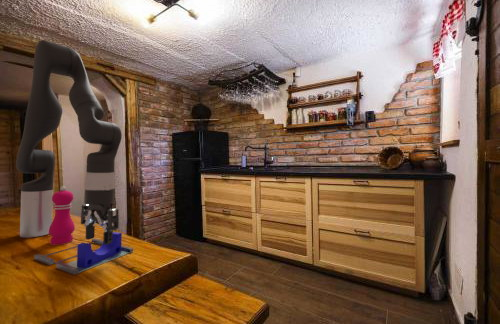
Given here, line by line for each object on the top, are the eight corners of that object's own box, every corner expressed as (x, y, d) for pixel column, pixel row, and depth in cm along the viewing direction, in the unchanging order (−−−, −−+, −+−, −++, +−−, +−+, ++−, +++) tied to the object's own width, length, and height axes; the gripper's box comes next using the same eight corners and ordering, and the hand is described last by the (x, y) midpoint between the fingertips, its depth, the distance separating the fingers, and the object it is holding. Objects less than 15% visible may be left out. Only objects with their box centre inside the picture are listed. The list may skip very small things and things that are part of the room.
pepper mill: (43, 243, 80) (45, 186, 80) (66, 237, 86) (68, 184, 86) (56, 246, 77) (57, 187, 77) (79, 240, 84) (80, 186, 84)
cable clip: (110, 249, 74) (110, 231, 75) (121, 251, 73) (121, 232, 73) (72, 265, 63) (73, 243, 63) (85, 267, 62) (85, 245, 62)
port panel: (34, 259, 67) (34, 254, 67) (94, 241, 83) (94, 238, 83) (74, 274, 58) (74, 270, 58) (132, 252, 74) (133, 248, 74)
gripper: (72, 186, 68) (70, 240, 68) (102, 190, 62) (100, 250, 62) (98, 184, 75) (96, 234, 75) (127, 188, 69) (126, 241, 69)
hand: (98, 241), depth 68 cm, fingers open, 8 cm apart
